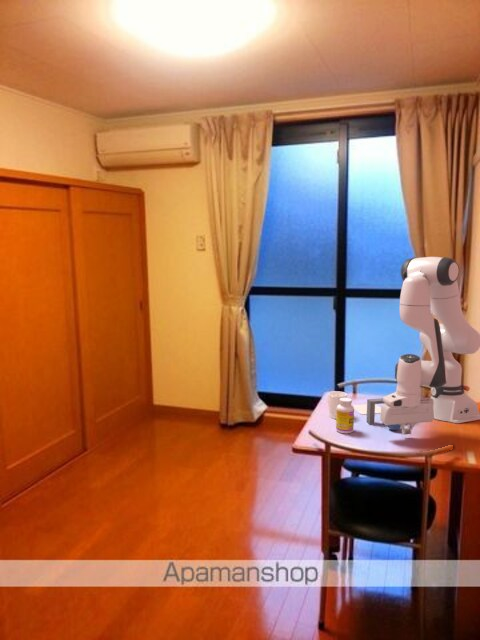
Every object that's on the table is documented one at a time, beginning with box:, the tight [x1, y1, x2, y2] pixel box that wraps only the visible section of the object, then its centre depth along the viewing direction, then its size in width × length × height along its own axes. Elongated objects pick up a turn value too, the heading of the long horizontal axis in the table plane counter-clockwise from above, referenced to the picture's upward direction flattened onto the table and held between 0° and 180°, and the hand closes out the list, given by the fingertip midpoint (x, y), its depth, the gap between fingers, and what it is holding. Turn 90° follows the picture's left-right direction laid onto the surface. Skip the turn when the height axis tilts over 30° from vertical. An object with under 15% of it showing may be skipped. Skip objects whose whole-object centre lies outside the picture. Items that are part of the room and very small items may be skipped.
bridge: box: [366, 397, 385, 425], centre depth 201 cm, size 3×15×10 cm, turn 100°
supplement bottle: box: [335, 397, 355, 435], centre depth 192 cm, size 7×7×13 cm
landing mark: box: [351, 403, 382, 416], centre depth 218 cm, size 12×12×1 cm
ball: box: [386, 424, 401, 431], centre depth 193 cm, size 6×6×6 cm
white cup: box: [327, 390, 348, 420], centre depth 208 cm, size 8×8×10 cm
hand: (406, 433), depth 185 cm, fingers closed
